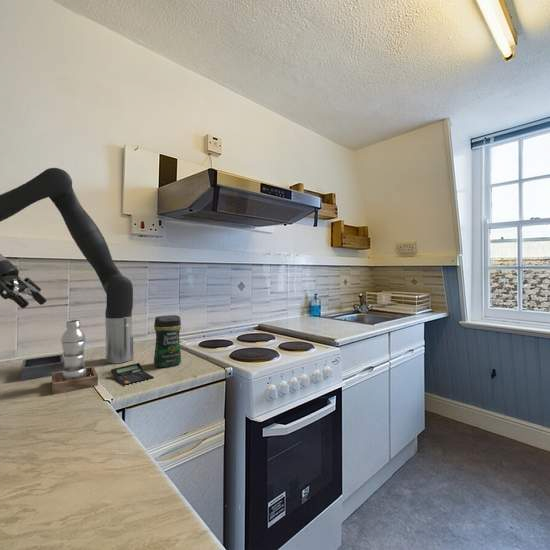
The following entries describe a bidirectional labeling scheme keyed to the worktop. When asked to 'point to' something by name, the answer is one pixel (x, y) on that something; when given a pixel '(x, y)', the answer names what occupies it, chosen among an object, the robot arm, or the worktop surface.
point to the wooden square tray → (74, 381)
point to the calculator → (130, 374)
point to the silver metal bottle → (73, 351)
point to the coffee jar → (167, 341)
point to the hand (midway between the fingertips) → (35, 304)
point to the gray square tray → (41, 367)
